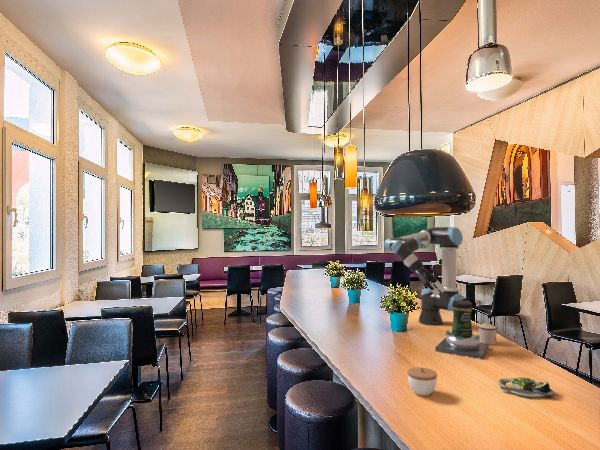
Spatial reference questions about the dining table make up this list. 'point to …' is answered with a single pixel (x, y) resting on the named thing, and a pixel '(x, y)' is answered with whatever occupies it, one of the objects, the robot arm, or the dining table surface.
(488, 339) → the teacup with lid
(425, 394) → the lidded jar
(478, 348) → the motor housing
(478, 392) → the dining table surface
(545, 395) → the salad plate
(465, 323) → the coffee jar
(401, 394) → the dining table surface
